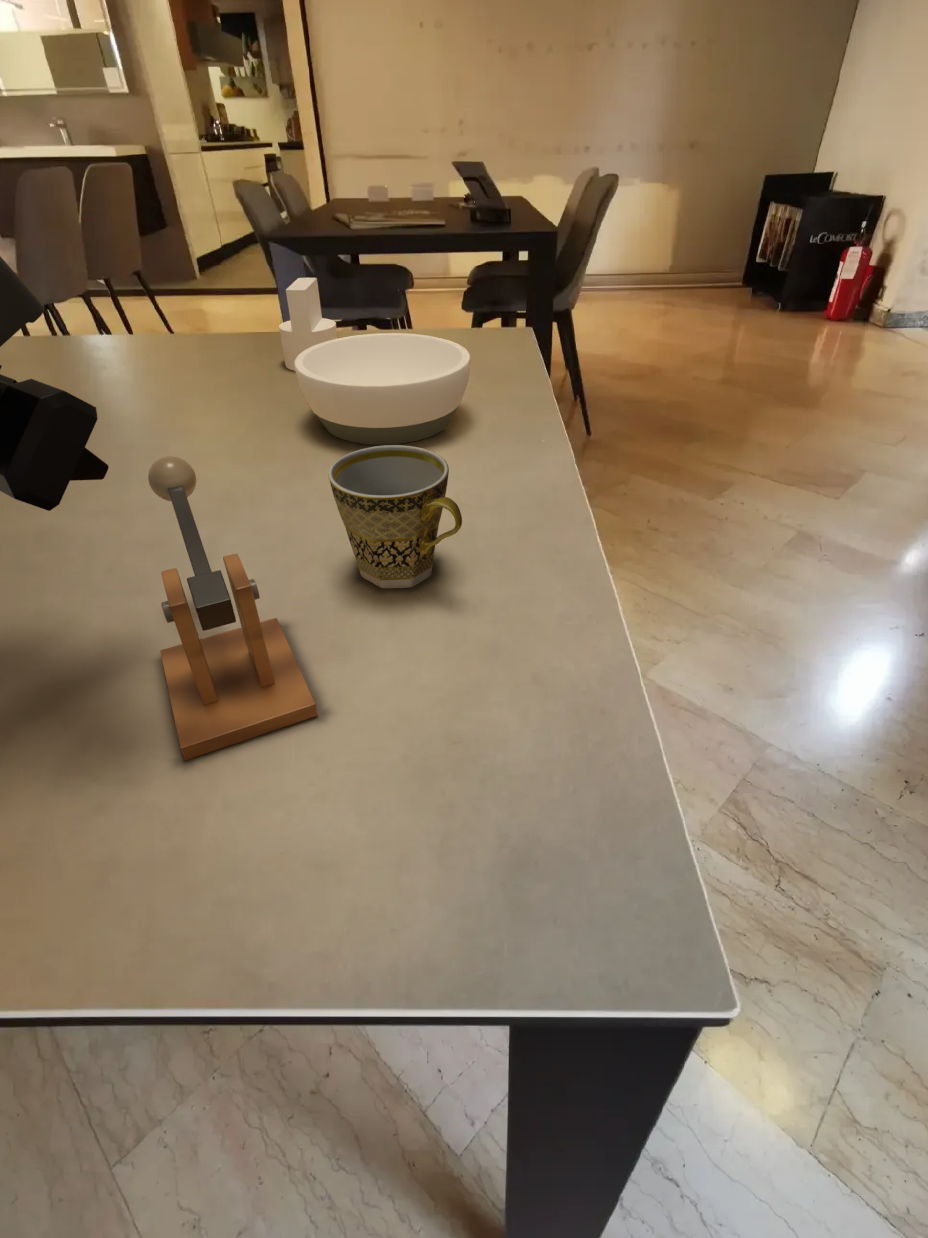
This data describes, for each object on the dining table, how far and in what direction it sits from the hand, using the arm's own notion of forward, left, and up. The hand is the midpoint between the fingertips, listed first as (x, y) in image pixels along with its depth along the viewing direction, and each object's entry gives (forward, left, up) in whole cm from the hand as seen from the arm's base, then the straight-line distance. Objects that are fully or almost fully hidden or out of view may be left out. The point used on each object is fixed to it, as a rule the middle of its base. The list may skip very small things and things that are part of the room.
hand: (103, 471), depth 47 cm
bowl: (+33, +34, -14) cm, 49 cm away
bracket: (+4, -10, -14) cm, 18 cm away
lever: (+4, -3, -6) cm, 8 cm away
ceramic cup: (+21, -2, -14) cm, 26 cm away
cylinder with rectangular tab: (+31, +63, -14) cm, 71 cm away
